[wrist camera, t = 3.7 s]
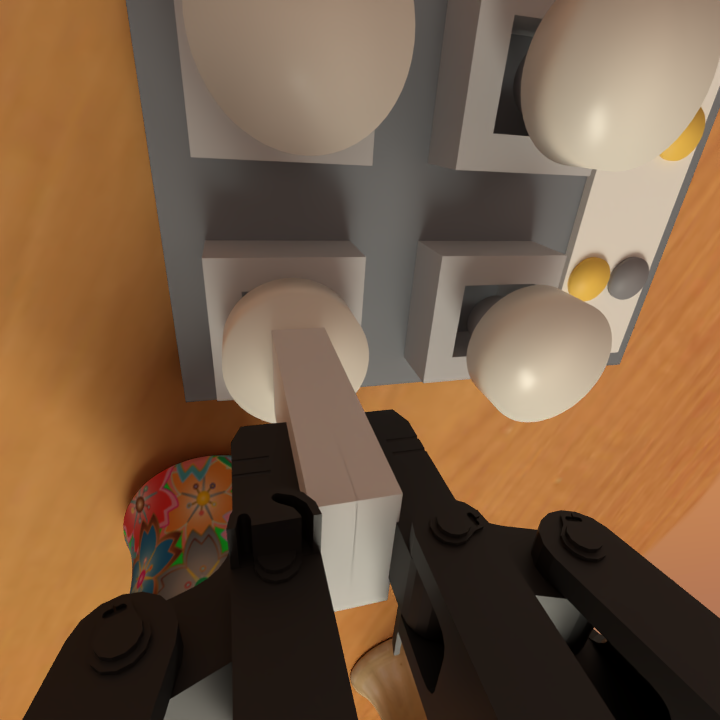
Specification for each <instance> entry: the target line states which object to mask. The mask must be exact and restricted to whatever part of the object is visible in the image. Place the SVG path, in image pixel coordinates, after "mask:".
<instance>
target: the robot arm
mask: <svg viewBox="0 0 720 720" xmlns="http://www.w3.org/2000/svg"><path fill="white" fill-rule="evenodd" d="M272 358H273V386H274V412H275V418H276V423H272V424H263V425H253V426H244V427H240V429H239V430H238V432H237V434H236V435H235V437H234V439H233V440H232V442H231V461H232V464H231V466H232V513H231V514H230V516H229V520H228V524H227V528H226V533H227V542H228V551H229V553H228V555H227V558H226V559H225V561H224V562H223V563H222V565H221V566H220V567H219V569H218V570H216V571H215V572H214V573H213V574H212V575H211V576H210V577H209V578H208V579H206V580H204V581H203V582H201V583H199V584H198V585H196V586H194V587H193V588H191V589H189V590H187V591H184V592H182V593H180V594H178V595H176V596H174V597H172V598H170V599H168V600H165V599H164V598H163V597H162V596H161V595H157V594H152V593H147V592H137V593H130V594H124V595H121V596H118V597H116V598H114V599H112V600H110V601H108V602H105V603H103V604H101V605H100V606H98V607H97V608H96V609H95V610H93V611H92V612H91V613H90V614H89V615H87V616H86V617H85V618H84V619H82V620H81V621H80V622H79V624H78V625H77V626H76V628H75V629H74V630H73V632H72V633H71V634H70V636H69V637H68V638H67V640H66V641H65V643H64V645H63V646H62V648H61V650H60V652H59V654H58V656H57V657H56V659H55V661H54V663H53V665H52V667H51V668H50V670H49V672H48V674H47V676H46V678H45V679H44V681H43V683H42V685H41V687H40V688H39V690H38V692H37V694H36V696H35V698H34V699H33V701H32V703H31V705H30V707H29V709H28V710H27V712H26V714H25V716H24V718H23V719H22V720H358V717H357V713H356V708H355V704H354V699H353V695H352V690H351V686H350V681H349V677H348V672H347V668H346V663H345V659H344V654H343V650H342V645H341V641H340V636H339V632H338V627H337V623H336V618H335V614H334V612H336V611H340V610H345V609H349V608H354V607H358V606H363V605H367V604H372V603H376V602H381V601H385V600H387V599H388V592H389V585H390V583H391V586H392V589H393V592H394V594H395V597H396V600H397V603H398V609H397V615H396V621H395V627H394V633H393V639H392V646H393V654H394V656H395V655H399V654H400V648H401V643H402V645H403V648H404V651H405V654H406V657H407V660H408V663H409V666H410V669H411V672H412V675H413V678H414V681H415V684H416V687H417V690H418V693H419V696H420V699H421V702H422V705H423V708H424V711H425V714H426V717H427V720H720V618H719V617H717V616H716V615H715V614H714V613H712V612H711V611H710V610H709V609H707V608H706V607H705V606H704V605H703V604H701V603H700V602H699V601H698V600H696V599H695V598H694V597H693V596H691V595H690V594H689V593H688V592H686V591H685V590H684V589H683V588H681V587H680V586H679V585H678V584H676V583H675V582H674V581H673V580H671V579H670V578H669V577H668V576H666V575H665V574H664V573H663V572H661V571H660V570H659V569H658V568H656V567H655V566H654V565H652V564H651V563H650V562H649V561H648V560H647V559H645V558H644V557H643V556H642V555H640V554H639V553H638V552H637V551H635V550H634V549H633V548H632V547H630V546H629V545H628V544H627V543H625V542H624V541H623V540H622V539H620V538H619V537H618V536H617V535H615V534H614V533H613V532H612V531H610V530H609V529H608V528H607V527H605V526H604V525H602V524H600V523H599V522H597V521H596V520H594V519H593V518H591V517H588V516H585V515H582V514H580V513H577V512H571V511H562V510H560V511H556V512H552V513H548V514H547V515H546V516H545V517H544V518H543V519H542V520H541V522H540V525H539V527H538V530H534V529H525V528H516V527H507V526H500V525H495V524H491V523H488V521H487V520H486V519H485V518H484V517H483V516H482V515H481V514H480V513H479V511H478V510H476V509H474V508H473V507H471V506H469V505H468V504H466V503H464V502H461V501H457V500H456V499H455V498H454V497H453V495H452V493H451V492H450V490H449V488H448V487H447V485H446V483H445V482H444V480H443V478H442V477H441V475H440V473H439V472H438V470H437V468H436V467H435V465H434V463H433V462H432V460H431V458H430V457H429V455H428V453H427V452H426V451H425V450H424V447H423V445H422V443H421V442H420V440H419V439H417V435H416V433H415V432H414V430H413V428H412V427H411V425H410V423H409V422H408V421H407V420H406V419H405V418H403V417H402V416H401V415H399V414H398V413H397V412H395V411H394V410H393V409H392V410H382V411H373V412H364V410H363V408H362V406H361V404H360V402H359V400H358V398H357V395H356V393H355V391H354V389H353V387H352V385H351V383H350V381H349V378H348V376H347V374H346V372H345V370H344V368H343V366H342V364H341V361H340V359H339V357H338V355H337V353H336V351H335V349H334V347H333V345H332V342H331V340H330V338H329V336H328V334H327V332H326V330H325V328H305V329H285V330H272ZM594 627H595V628H596V629H597V630H598V631H599V632H600V633H601V634H602V635H601V634H599V633H598V632H596V631H595V630H594V629H593V628H594Z"/></svg>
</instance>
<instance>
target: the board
mask: <svg viewBox="0 0 720 720" xmlns="http://www.w3.org/2000/svg"><path fill="white" fill-rule="evenodd" d="M555 1H556V0H414V7H415V42H414V49H413V55H412V61H411V65H410V69H409V72H408V76H407V79H406V81H405V84H404V87H403V89H402V91H401V93H400V95H399V97H398V99H397V101H396V103H395V105H394V106H393V108H392V109H391V111H390V112H389V114H388V115H387V117H386V118H385V119H384V120H383V121H382V123H381V124H380V125H379V126H378V127H377V128H376V129H375V130H374V131H373V132H372V133H370V134H369V135H368V136H367V137H365V138H364V139H362V140H361V141H360V142H358V143H357V144H355V145H353V146H351V147H349V148H347V149H344V150H341V151H338V152H335V153H332V154H326V155H320V156H303V155H295V154H290V153H286V152H282V151H279V150H276V149H274V148H272V147H269V146H267V145H265V144H263V143H261V142H260V141H258V140H256V139H255V138H253V137H251V136H250V135H249V134H247V133H246V132H245V131H243V130H242V129H241V128H240V127H238V126H237V125H236V124H235V123H234V122H233V121H232V120H231V119H230V118H229V117H228V116H227V115H226V114H225V113H224V111H223V110H222V109H221V108H220V106H219V105H218V104H217V102H216V101H215V99H214V98H213V96H212V95H211V93H210V92H209V90H208V89H207V87H206V85H205V83H204V81H203V79H202V77H201V75H200V73H199V71H198V69H197V66H196V64H195V61H194V59H193V56H192V53H191V50H190V46H189V43H188V39H187V35H186V31H185V24H184V18H183V9H182V0H126V6H127V12H128V19H129V26H130V32H131V39H132V46H133V52H134V59H135V66H136V72H137V79H138V86H139V92H140V99H141V106H142V112H143V119H144V126H145V133H146V139H147V146H148V153H149V159H150V166H151V173H152V179H153V186H154V193H155V199H156V206H157V213H158V219H159V226H160V233H161V239H162V246H163V253H164V259H165V266H166V273H167V280H168V286H169V293H170V300H171V306H172V313H173V320H174V326H175V333H176V340H177V346H178V353H179V360H180V366H181V373H182V380H183V386H184V393H185V400H186V402H194V401H206V400H217V401H226V400H234V399H233V398H232V396H231V395H230V393H229V391H228V389H227V387H226V384H225V382H224V378H223V372H222V338H223V330H224V327H225V323H226V320H227V318H228V316H229V314H230V312H231V311H232V309H233V308H234V306H235V305H236V304H237V303H238V301H239V300H240V299H241V298H242V297H243V296H245V295H246V294H247V293H248V292H250V291H251V290H253V289H254V288H256V287H258V286H260V285H262V284H264V283H267V282H270V281H273V280H277V279H283V278H302V279H308V280H312V281H315V282H318V283H320V284H323V285H325V286H327V287H328V288H330V289H331V290H333V291H334V292H335V293H337V294H338V295H339V296H340V297H341V298H342V299H343V300H344V302H345V303H346V304H347V306H348V307H349V309H350V311H351V312H352V314H353V315H354V317H355V318H356V320H357V321H358V323H359V324H360V326H361V328H362V329H363V332H364V334H365V336H366V339H367V343H368V348H369V363H368V369H367V372H366V376H365V378H364V380H363V383H362V385H361V386H360V387H366V386H377V385H389V384H400V383H412V382H423V383H430V382H441V381H452V380H464V379H471V378H470V376H469V373H468V369H467V361H466V356H467V348H468V345H469V341H470V338H471V335H470V334H469V332H468V328H467V322H468V317H469V315H470V313H471V311H472V309H473V308H474V307H475V305H476V304H477V303H479V302H480V301H481V300H483V299H485V298H487V297H489V296H495V295H497V296H502V297H505V296H506V295H508V294H510V293H512V292H514V291H516V290H518V289H521V288H524V287H528V286H532V285H548V286H553V287H556V288H558V289H561V290H562V291H564V292H566V293H568V294H570V295H572V296H574V297H576V298H578V299H580V300H582V301H584V302H586V303H588V304H590V305H592V306H594V307H595V308H597V309H598V310H600V311H601V312H602V313H603V314H604V316H605V317H606V319H607V320H608V323H609V325H610V328H611V333H612V347H611V352H610V356H609V359H608V362H607V364H606V365H617V364H620V362H621V359H622V357H623V354H624V352H625V349H626V347H627V344H628V341H629V339H630V336H631V334H632V331H633V329H634V326H635V323H636V321H637V318H638V316H639V313H640V311H641V308H642V305H643V303H644V300H645V298H646V295H647V293H648V290H649V288H650V285H651V282H652V280H653V277H654V275H655V272H656V270H657V267H658V264H659V262H660V259H661V257H662V254H663V252H664V249H665V246H666V244H667V241H668V239H669V236H670V234H671V231H672V229H673V226H674V223H675V221H676V218H677V216H678V213H679V211H680V208H681V205H682V203H683V200H684V198H685V195H686V193H687V190H688V187H689V185H690V182H691V180H692V177H693V175H694V172H695V169H696V167H697V164H698V162H699V159H700V157H701V154H702V152H703V149H704V146H705V144H706V141H707V139H708V136H709V134H710V131H711V128H712V126H713V123H714V121H715V118H716V116H717V113H718V110H719V108H720V58H719V62H718V66H717V69H716V72H715V75H714V79H713V81H712V84H711V86H710V88H709V91H708V93H707V95H706V97H705V99H704V101H703V103H702V105H701V107H700V108H699V110H698V112H697V113H696V115H695V117H694V118H693V120H692V121H691V122H690V124H689V125H688V126H687V128H686V129H685V130H684V132H683V133H682V134H681V135H680V136H679V137H678V139H677V140H676V141H675V142H674V143H673V144H671V145H670V146H669V147H668V148H667V149H666V150H665V151H664V152H662V153H661V154H660V155H659V156H657V157H655V158H654V159H652V160H651V161H649V162H647V163H645V164H643V165H641V166H639V167H636V168H633V169H631V170H626V171H618V172H610V171H603V170H596V169H589V168H581V167H574V166H567V165H562V164H559V163H556V162H554V161H552V160H550V159H548V158H547V157H546V156H544V155H543V154H542V153H541V152H540V151H539V150H538V149H537V148H536V146H535V145H534V143H533V142H532V140H531V139H530V136H529V134H528V132H527V130H526V127H525V123H524V120H523V115H522V113H521V112H520V110H519V109H518V107H517V105H516V103H515V99H514V94H513V84H514V78H515V74H516V71H517V69H518V66H519V64H520V63H521V61H522V59H523V58H524V57H525V55H526V54H527V52H528V49H529V46H530V44H531V41H532V39H533V36H534V34H535V32H536V30H537V28H538V26H539V24H540V22H541V21H542V19H543V17H544V16H545V14H546V13H547V11H548V10H549V9H550V7H551V6H552V4H553V3H554V2H555Z"/></svg>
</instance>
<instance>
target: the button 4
mask: <svg viewBox="0 0 720 720" xmlns="http://www.w3.org/2000/svg"><path fill="white" fill-rule="evenodd" d="M719 58H720V0H556V1H555V2H554V3H553V4H552V6H551V7H550V9H549V10H548V11H547V13H546V14H545V16H544V17H543V19H542V21H541V22H540V24H539V26H538V28H537V30H536V32H535V34H534V36H533V39H532V41H531V44H530V46H529V49H528V52H527V54H526V55H525V57H524V58H523V59H522V61H521V63H520V64H519V66H518V69H517V71H516V74H515V78H514V84H513V94H514V99H515V103H516V105H517V107H518V109H519V110H520V112H521V113H522V115H523V120H524V123H525V127H526V130H527V132H528V134H529V136H530V139H531V140H532V142H533V143H534V145H535V146H536V148H537V149H538V150H539V151H540V152H541V153H542V154H543V155H544V156H546V157H547V158H548V159H550V160H552V161H554V162H556V163H559V164H562V165H567V166H574V167H581V168H589V169H596V170H603V171H610V172H618V171H626V170H631V169H633V168H636V167H639V166H641V165H643V164H645V163H647V162H649V161H651V160H652V159H654V158H655V157H657V156H659V155H660V154H661V153H662V152H664V151H665V150H666V149H667V148H668V147H669V146H670V145H671V144H673V143H674V142H675V141H676V140H677V139H678V137H679V136H680V135H681V134H682V133H683V132H684V130H685V129H686V128H687V126H688V125H689V124H690V122H691V121H692V120H693V118H694V117H695V115H696V113H697V112H698V110H699V108H700V107H701V105H702V103H703V101H704V99H705V97H706V95H707V93H708V91H709V88H710V86H711V84H712V81H713V79H714V75H715V72H716V69H717V66H718V62H719Z"/></svg>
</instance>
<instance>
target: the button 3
mask: <svg viewBox="0 0 720 720" xmlns="http://www.w3.org/2000/svg"><path fill="white" fill-rule="evenodd" d="M467 328H468V332H469V334H470V335H471V338H470V341H469V345H468V348H467V356H466V361H467V369H468V373H469V376H470V378H471V380H472V381H473V383H474V384H475V385H476V386H477V388H478V389H479V390H480V391H481V392H482V393H483V394H484V395H485V396H486V397H487V398H488V399H489V400H490V401H491V403H492V404H493V405H494V406H495V407H496V408H497V409H498V410H499V411H500V412H501V413H502V414H503V415H505V416H506V417H508V418H510V419H513V420H515V421H520V422H537V421H542V420H546V419H549V418H552V417H554V416H557V415H559V414H560V413H562V412H564V411H566V410H567V409H569V408H571V407H572V406H573V405H575V404H576V403H577V402H579V401H580V400H581V399H582V398H583V397H584V396H585V395H586V394H587V393H588V392H589V391H590V390H591V389H592V387H593V386H594V385H595V384H596V382H597V381H598V379H599V378H600V376H601V374H602V373H603V371H604V369H605V367H606V364H607V362H608V359H609V356H610V352H611V347H612V333H611V328H610V325H609V323H608V320H607V319H606V317H605V316H604V314H603V313H602V312H601V311H600V310H598V309H597V308H595V307H594V306H592V305H590V304H588V303H586V302H584V301H582V300H580V299H578V298H576V297H574V296H572V295H570V294H568V293H566V292H564V291H562V290H561V289H558V288H556V287H553V286H548V285H532V286H528V287H524V288H521V289H518V290H516V291H514V292H512V293H510V294H508V295H506V296H505V297H502V296H497V295H495V296H489V297H487V298H485V299H483V300H481V301H480V302H479V303H477V304H476V305H475V307H474V308H473V309H472V311H471V313H470V315H469V317H468V322H467Z"/></svg>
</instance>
